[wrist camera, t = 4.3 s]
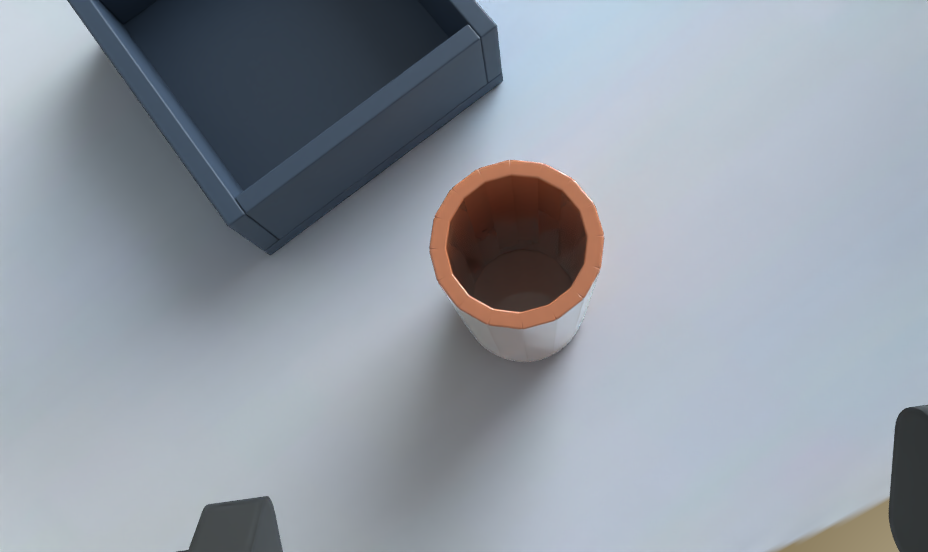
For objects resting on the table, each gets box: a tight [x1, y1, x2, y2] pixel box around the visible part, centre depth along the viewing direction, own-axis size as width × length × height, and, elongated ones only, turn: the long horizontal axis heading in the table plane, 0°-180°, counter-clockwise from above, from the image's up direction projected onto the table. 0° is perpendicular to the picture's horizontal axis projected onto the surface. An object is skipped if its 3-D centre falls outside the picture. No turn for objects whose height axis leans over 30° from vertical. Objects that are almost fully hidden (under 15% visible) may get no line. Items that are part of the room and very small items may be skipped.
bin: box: [67, 0, 503, 255], centre depth 34 cm, size 13×14×5 cm
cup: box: [429, 160, 604, 362], centre depth 28 cm, size 5×5×10 cm
